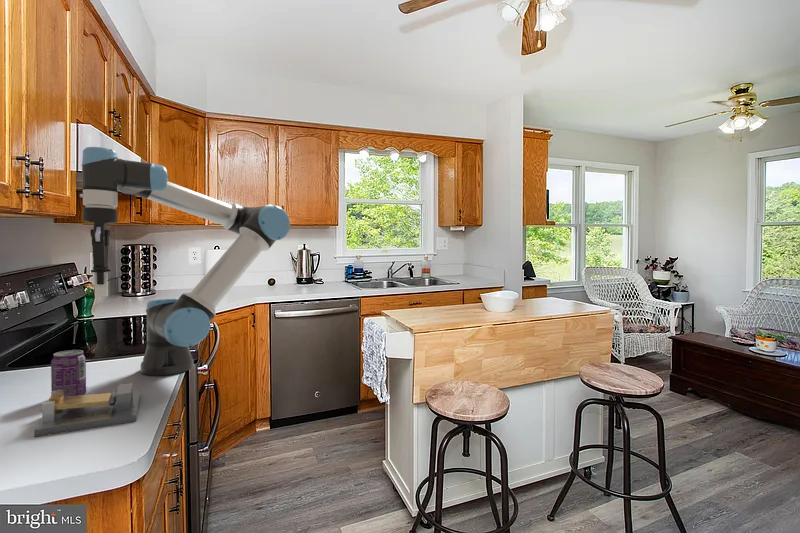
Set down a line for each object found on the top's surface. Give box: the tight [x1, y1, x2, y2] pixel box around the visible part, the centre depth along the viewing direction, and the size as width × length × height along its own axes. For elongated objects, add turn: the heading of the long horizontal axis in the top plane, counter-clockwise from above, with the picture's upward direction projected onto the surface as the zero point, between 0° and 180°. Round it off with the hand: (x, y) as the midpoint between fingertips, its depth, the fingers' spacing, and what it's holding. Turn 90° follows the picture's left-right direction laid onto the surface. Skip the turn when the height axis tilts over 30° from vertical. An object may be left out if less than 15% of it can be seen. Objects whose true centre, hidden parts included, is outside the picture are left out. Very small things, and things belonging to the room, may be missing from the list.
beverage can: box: [50, 349, 87, 397], centre depth 110 cm, size 7×7×12 cm
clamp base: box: [33, 382, 141, 438], centre depth 100 cm, size 18×18×6 cm
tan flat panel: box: [48, 391, 117, 410], centre depth 99 cm, size 7×13×2 cm, turn 119°
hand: (101, 296), depth 112 cm, fingers closed
